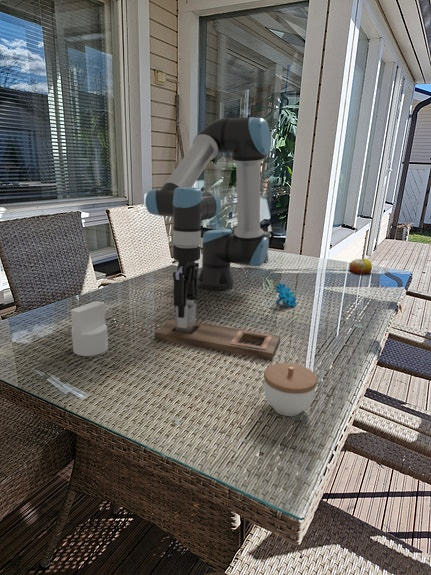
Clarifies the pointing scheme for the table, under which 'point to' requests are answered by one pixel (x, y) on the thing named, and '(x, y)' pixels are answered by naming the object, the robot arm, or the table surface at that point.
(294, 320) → the table surface
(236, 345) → the walnut rail
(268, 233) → the coffeepot
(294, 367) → the lidded jar
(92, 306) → the cylinder with rectangular tab
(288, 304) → the gear
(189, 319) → the steel block
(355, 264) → the fruit
